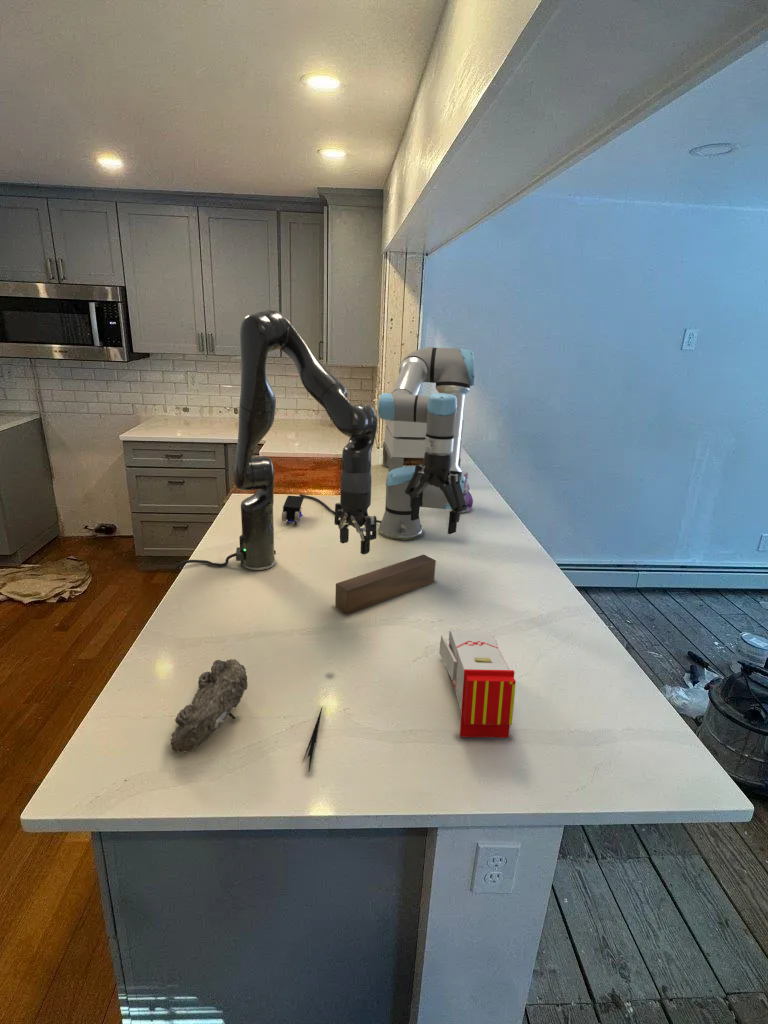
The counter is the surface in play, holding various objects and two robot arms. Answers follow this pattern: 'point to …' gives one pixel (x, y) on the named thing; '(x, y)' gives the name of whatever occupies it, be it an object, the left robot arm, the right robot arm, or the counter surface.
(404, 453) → the grey slatted crate
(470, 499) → the figurine
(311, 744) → the feather
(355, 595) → the walnut beam
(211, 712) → the fossil
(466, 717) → the toy
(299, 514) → the figurine character
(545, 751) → the counter surface
